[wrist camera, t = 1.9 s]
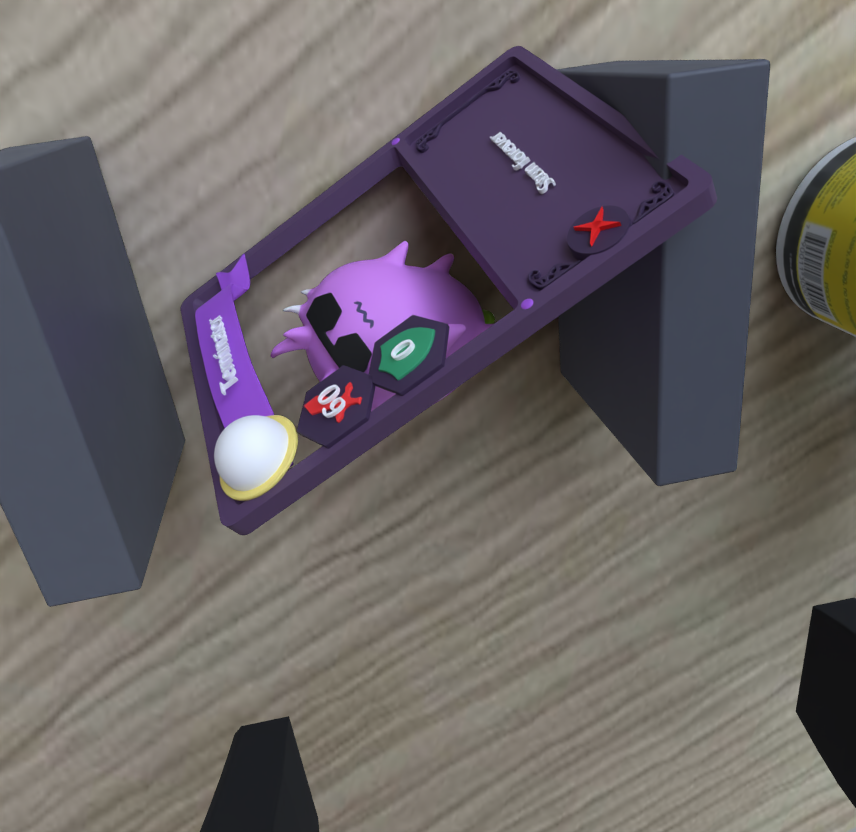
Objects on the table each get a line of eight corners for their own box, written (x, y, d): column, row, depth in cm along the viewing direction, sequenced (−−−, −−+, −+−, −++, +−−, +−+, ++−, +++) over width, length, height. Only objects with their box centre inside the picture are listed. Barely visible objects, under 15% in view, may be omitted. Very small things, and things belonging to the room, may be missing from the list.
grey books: (119, 453, 17) (47, 608, 12) (8, 147, 14) (-149, 192, 9) (619, 362, 19) (737, 472, 14) (619, 60, 15) (773, 59, 10)
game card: (708, 138, 10) (188, 512, 11) (765, 361, 13) (373, 621, 15) (502, 9, 14) (154, 281, 15) (587, 201, 18) (301, 409, 19)
